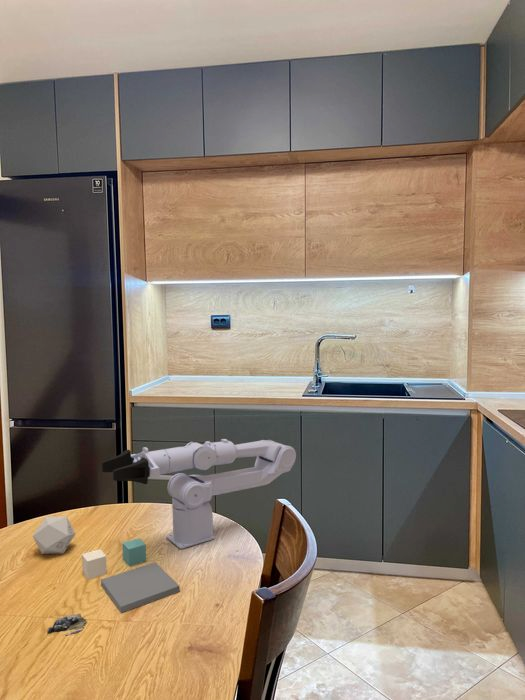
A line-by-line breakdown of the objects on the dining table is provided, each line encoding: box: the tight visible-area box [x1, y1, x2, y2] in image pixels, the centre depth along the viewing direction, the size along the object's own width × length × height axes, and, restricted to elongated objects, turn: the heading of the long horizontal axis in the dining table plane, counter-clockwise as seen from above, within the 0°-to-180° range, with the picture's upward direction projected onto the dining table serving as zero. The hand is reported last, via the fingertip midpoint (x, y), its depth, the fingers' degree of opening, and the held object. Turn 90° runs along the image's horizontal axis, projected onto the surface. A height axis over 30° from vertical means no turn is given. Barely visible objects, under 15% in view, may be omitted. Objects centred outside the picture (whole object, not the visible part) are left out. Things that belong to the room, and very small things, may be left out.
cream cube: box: [81, 548, 108, 580], centre depth 107 cm, size 4×4×4 cm
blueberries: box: [46, 613, 87, 636], centre depth 88 cm, size 7×8×2 cm
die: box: [32, 516, 76, 555], centre depth 117 cm, size 8×9×10 cm
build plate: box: [100, 561, 181, 614], centre depth 100 cm, size 12×12×1 cm
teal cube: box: [122, 537, 147, 567], centre depth 112 cm, size 4×4×4 cm
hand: (107, 471), depth 110 cm, fingers open, 7 cm apart
